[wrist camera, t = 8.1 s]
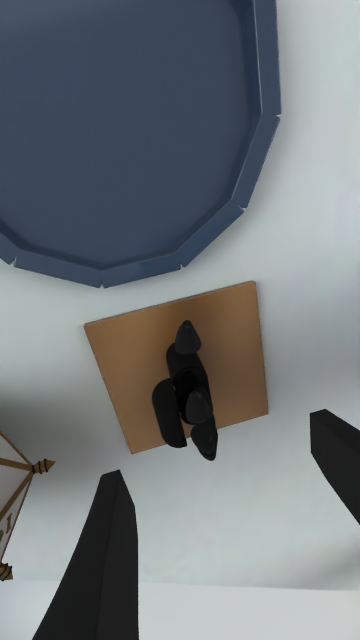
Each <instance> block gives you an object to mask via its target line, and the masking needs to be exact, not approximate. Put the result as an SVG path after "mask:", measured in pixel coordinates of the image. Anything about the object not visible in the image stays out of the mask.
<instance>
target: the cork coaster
mask: <svg viewBox="0 0 360 640" xmlns="http://www.w3.org/2000/svg"><path fill="white" fill-rule="evenodd" d="M184 320H190V321H191V322H192V324H193V326H194V328H195V330H196V332H197V334H198V336H199V338H200V340H201V344H202V345H201V348H200V349H199V350H198V351H197V354H198V356H199V358H200V360H201V362H202V364H203V366H204V369H205V371H206V373H207V375H208V382H209V388H210V393H211V399H212V404H213V414H214V417H215V422H216V429H219V428H223V427H226V426H229V425H233V424H236V423H239V422H243V421H246V420H250V419H253V418H256V417H260V416H263V415H266V414H269V412H268V402H267V392H266V382H265V372H264V362H263V352H262V342H261V333H260V323H259V313H258V303H257V293H256V283H255V282H254V281H249V282H245V283H241V284H237V285H233V286H229V287H225V288H222V289H218V290H214V291H210V292H206V293H202V294H198V295H194V296H190V297H187V298H183V299H179V300H175V301H171V302H167V303H163V304H159V305H156V306H152V307H148V308H144V309H140V310H136V311H132V312H128V313H124V314H121V315H117V316H113V317H109V318H105V319H101V320H97V321H93V322H90V323H86V324H84V329H85V332H86V335H87V337H88V340H89V343H90V345H91V348H92V351H93V353H94V356H95V359H96V361H97V364H98V366H99V369H100V372H101V374H102V377H103V380H104V382H105V385H106V388H107V390H108V393H109V396H110V398H111V401H112V404H113V406H114V409H115V412H116V414H117V417H118V420H119V422H120V425H121V428H122V430H123V433H124V436H125V438H126V441H127V444H128V446H129V449H130V451H131V454H135V453H138V452H141V451H145V450H148V449H152V448H155V447H158V446H162V445H165V444H167V443H166V442H165V441H164V440H163V438H162V436H161V433H160V429H159V425H158V422H157V418H156V415H155V411H154V408H153V404H152V392H153V390H154V388H155V386H156V385H157V384H158V383H159V382H160V381H162V380H164V379H168V378H170V375H169V370H168V366H167V362H166V352H167V350H168V348H169V347H170V345H171V344H173V343H175V338H176V334H177V331H178V329H179V327H180V326H181V325H182V322H183V321H184ZM181 421H182V426H183V430H184V434H185V438H189V437H191V435H190V434H191V429H192V428H193V427H194V426H195V425H189V424H186V423H185V422H184V421H183V420H182V419H181Z"/></svg>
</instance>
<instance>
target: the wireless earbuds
mask: <svg viewBox="0 0 360 640" xmlns="http://www.w3.org/2000/svg"><path fill="white" fill-rule="evenodd" d="M201 345H202V344H201V340H200V338H199V336H198V334H197V332H196V330H195V328H194V326H193V324H192V322H191V321H190V320H184V321H183V322H182V325H181V326H180V327H179V329H178V331H177V334H176V338H175V343H173V344H171V345H170V347H169V348H168V350H167V352H166V362H167V366H168V370H169V375H170V378H168V379H164V380H162V381H160V382H159V383H158V384H157V385H156V386H155V388H154V390H153V392H152V404H153V408H154V411H155V415H156V418H157V422H158V425H159V429H160V433H161V436H162V438H163V440H164V441H165V442H166V443H167V444H168V445H170V446H172V447H175V448H182V447H186V446H187V442H186V438H185V434H184V430H183V426H182V421H181V419H182V420H183V421H184V422H185V423H186V424H189V425H195V426H194V427H193V428H192V429H191V434H190V435H191V438H192V441H193V442H194V444H195V445H196V446H197V448H198V450H199V452H200V453H201V454H202V456H203V457H204V458H206V459H207V460H210V461H213V460H214V459H215V457H216V450H217V441H218V434H217V429H216V422H215V417H214V414H213V404H212V399H211V393H210V388H209V382H208V375H207V373H206V371H205V369H204V366H203V364H202V362H201V360H200V358H199V356H198V354H197V351H198V350H199V349H200V348H201Z"/></svg>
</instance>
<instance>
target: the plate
mask: <svg viewBox="0 0 360 640" xmlns="http://www.w3.org/2000/svg"><path fill="white" fill-rule="evenodd" d="M281 112H282V111H281V91H280V70H279V50H278V30H277V10H276V0H0V258H1V259H2V260H3V261H5V262H6V263H7V264H11V263H12V262H14V263H13V265H14V267H16V268H20V269H24V270H28V271H32V272H36V273H40V274H44V275H48V276H52V277H56V278H60V279H64V280H68V281H72V282H76V283H80V284H84V285H88V286H92V287H96V288H100V287H101V284H102V285H103V287H104V288H108V287H112V286H116V285H120V284H124V283H128V282H132V281H136V280H140V279H144V278H148V277H152V276H156V275H161V274H165V273H169V272H173V271H177V270H180V269H181V265H182V266H183V267H186V266H187V265H188V264H189V263H190V262H191V261H192V260H193V259H194V258H195V257H196V256H197V255H199V254H200V253H201V252H202V251H203V250H204V249H205V248H206V247H207V246H208V245H209V244H210V243H211V242H213V241H214V240H215V239H216V238H217V237H218V236H219V235H220V234H221V233H222V232H223V231H224V230H225V229H226V228H228V227H229V226H230V225H231V224H232V223H233V222H234V221H235V220H236V219H237V218H238V217H239V216H240V215H242V214H243V213H244V210H243V209H242V208H247V206H248V203H249V201H250V198H251V195H252V193H253V190H254V187H255V185H256V182H257V180H258V177H259V174H260V172H261V169H262V166H263V164H264V161H265V158H266V156H267V153H268V150H269V148H270V145H271V142H272V140H273V137H274V134H275V132H276V129H277V127H278V124H279V121H280V118H279V117H278V116H277V115H279V114H281ZM180 264H181V265H180Z"/></svg>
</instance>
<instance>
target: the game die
mask: <svg viewBox="0 0 360 640" xmlns="http://www.w3.org/2000/svg"><path fill="white" fill-rule="evenodd" d="M54 463H55V461H50V460H47V459H44V460H43V461H38V463H37V464H35V465H32V464H31V463H30V462H29V461H28V460H27V459H26V458H25V456H24V455H23V454H22V453H21V452H20V451H19V450H18V449H17V448H16V447H15V446H14V445H13V444H12V443H11V442H10V441H9V440H8V439H7V438H6V437H5V436H4V434H3V433H2V432H1V431H0V580H1V581H4V580H10V579H13V576H12V566H8V563H6V564H3V563H2V562H1V561H2V558H3V556H4V553H5V550H6V547H7V545H8V542H9V539H10V537H11V534H12V531H13V529H14V526H15V523H16V521H17V518H18V515H19V513H20V510H21V507H22V505H23V502H24V499H25V497H26V494H27V491H28V488H29V486H30V483H31V480H32V478H33V475H34V474H35V473H40V474H42V472H45V471H46V472H48V470H49V469H50V468H51V467H52V466H53V465H54Z"/></svg>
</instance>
